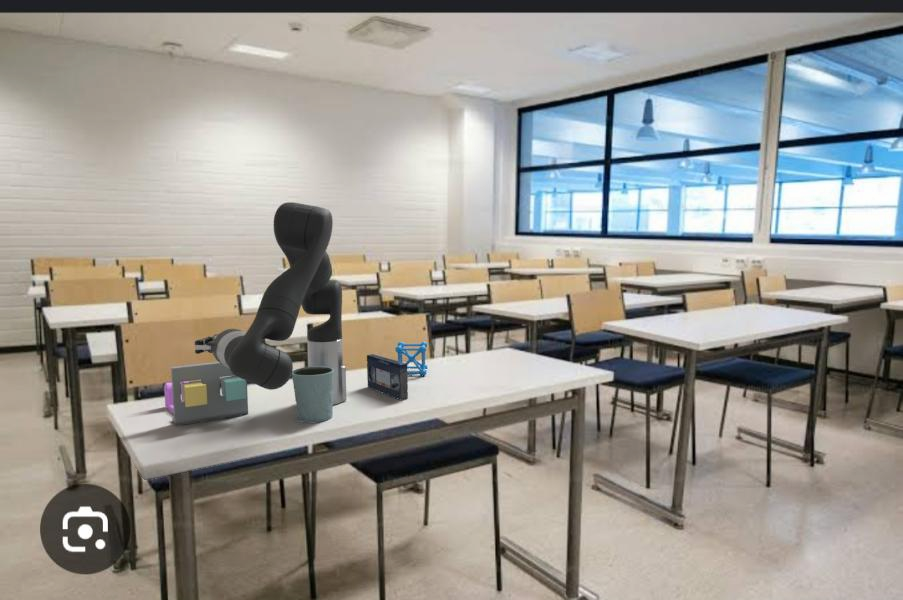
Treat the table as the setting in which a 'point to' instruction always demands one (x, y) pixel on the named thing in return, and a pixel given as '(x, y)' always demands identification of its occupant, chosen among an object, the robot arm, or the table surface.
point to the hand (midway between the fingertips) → (217, 338)
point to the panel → (215, 401)
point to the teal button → (233, 388)
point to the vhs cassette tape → (387, 376)
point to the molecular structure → (413, 356)
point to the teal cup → (313, 393)
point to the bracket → (170, 395)
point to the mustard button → (194, 393)
